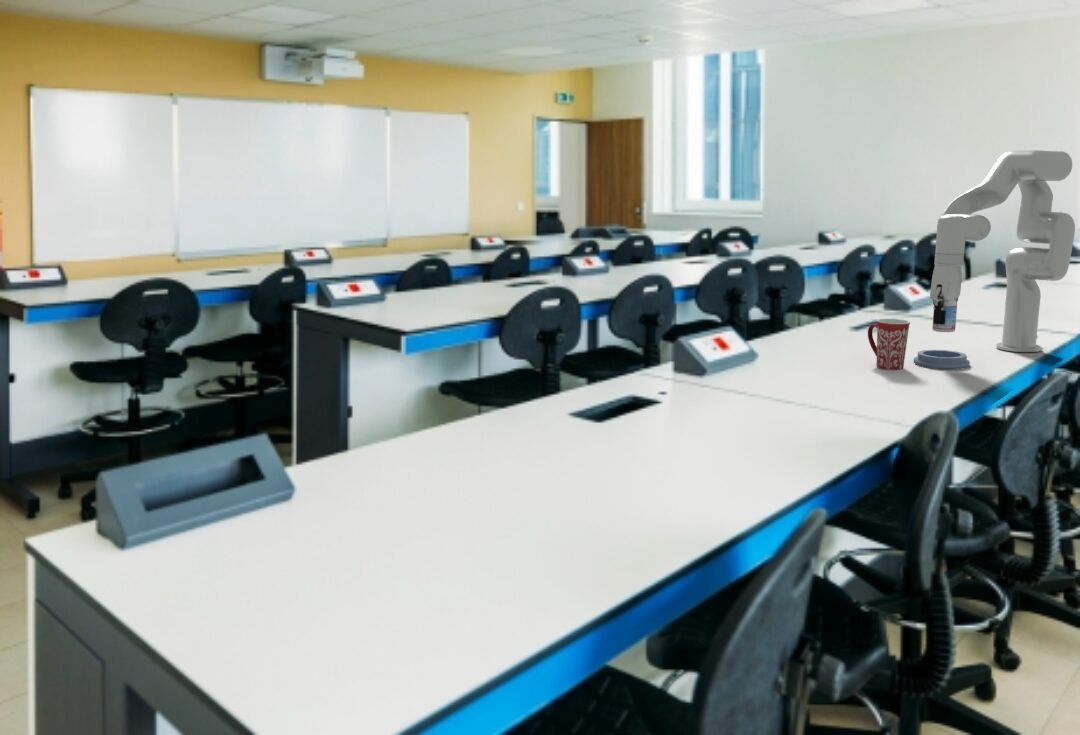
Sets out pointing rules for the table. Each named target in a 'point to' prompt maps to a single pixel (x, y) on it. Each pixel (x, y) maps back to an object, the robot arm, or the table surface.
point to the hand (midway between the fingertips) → (944, 322)
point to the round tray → (942, 359)
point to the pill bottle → (948, 317)
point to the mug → (890, 342)
